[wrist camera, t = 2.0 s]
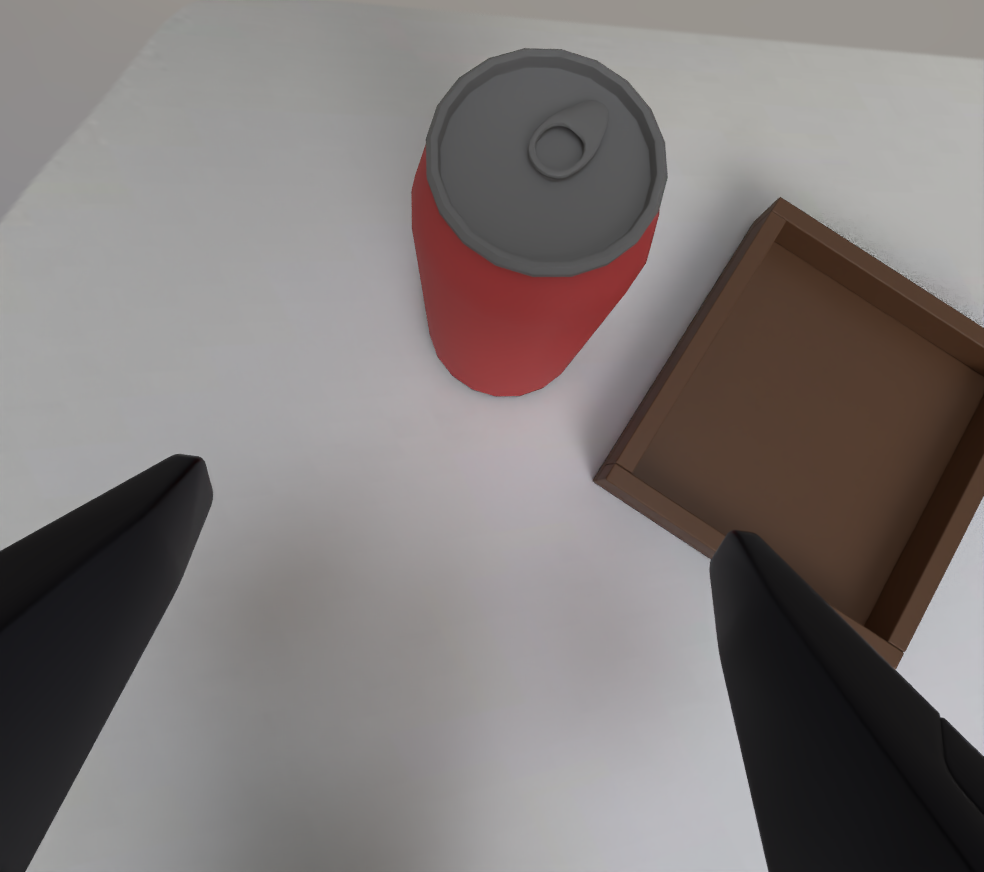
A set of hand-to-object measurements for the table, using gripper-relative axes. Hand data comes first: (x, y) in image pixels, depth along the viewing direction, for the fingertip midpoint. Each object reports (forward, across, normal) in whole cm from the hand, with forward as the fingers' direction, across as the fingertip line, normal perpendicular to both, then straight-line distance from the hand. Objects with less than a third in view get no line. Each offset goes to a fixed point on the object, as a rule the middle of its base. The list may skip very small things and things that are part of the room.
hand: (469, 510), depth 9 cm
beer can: (+16, -1, +5) cm, 16 cm away
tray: (+14, -15, +6) cm, 21 cm away
